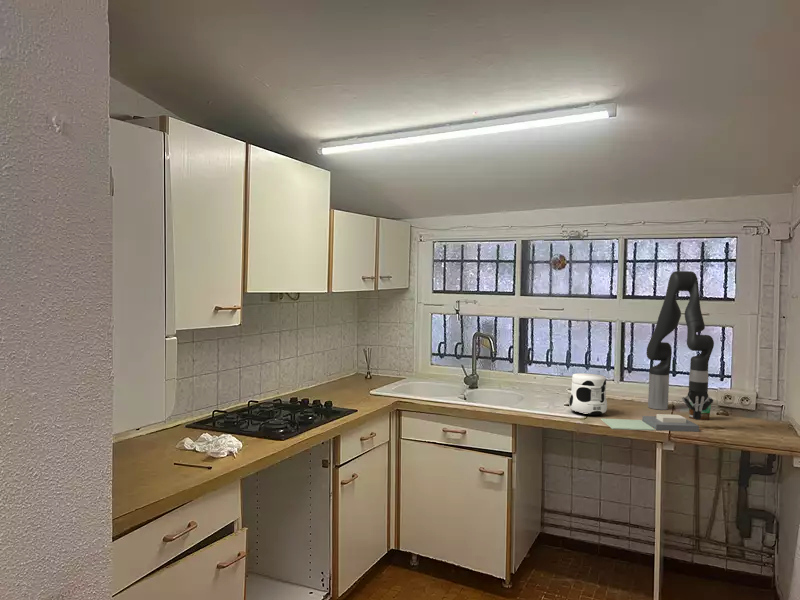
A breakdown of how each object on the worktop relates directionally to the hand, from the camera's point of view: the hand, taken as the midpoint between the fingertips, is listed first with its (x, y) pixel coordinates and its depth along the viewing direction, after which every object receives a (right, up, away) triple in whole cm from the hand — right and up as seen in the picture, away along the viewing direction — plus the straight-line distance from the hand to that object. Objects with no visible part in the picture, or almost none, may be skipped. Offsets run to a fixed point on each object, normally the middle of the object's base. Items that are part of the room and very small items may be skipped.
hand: (696, 419), depth 261 cm
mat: (-30, -3, +1) cm, 30 cm away
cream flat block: (-11, 0, 0) cm, 11 cm away
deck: (-12, -3, +1) cm, 12 cm away
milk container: (-41, -2, +23) cm, 47 cm away
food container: (+11, -3, +17) cm, 20 cm away
